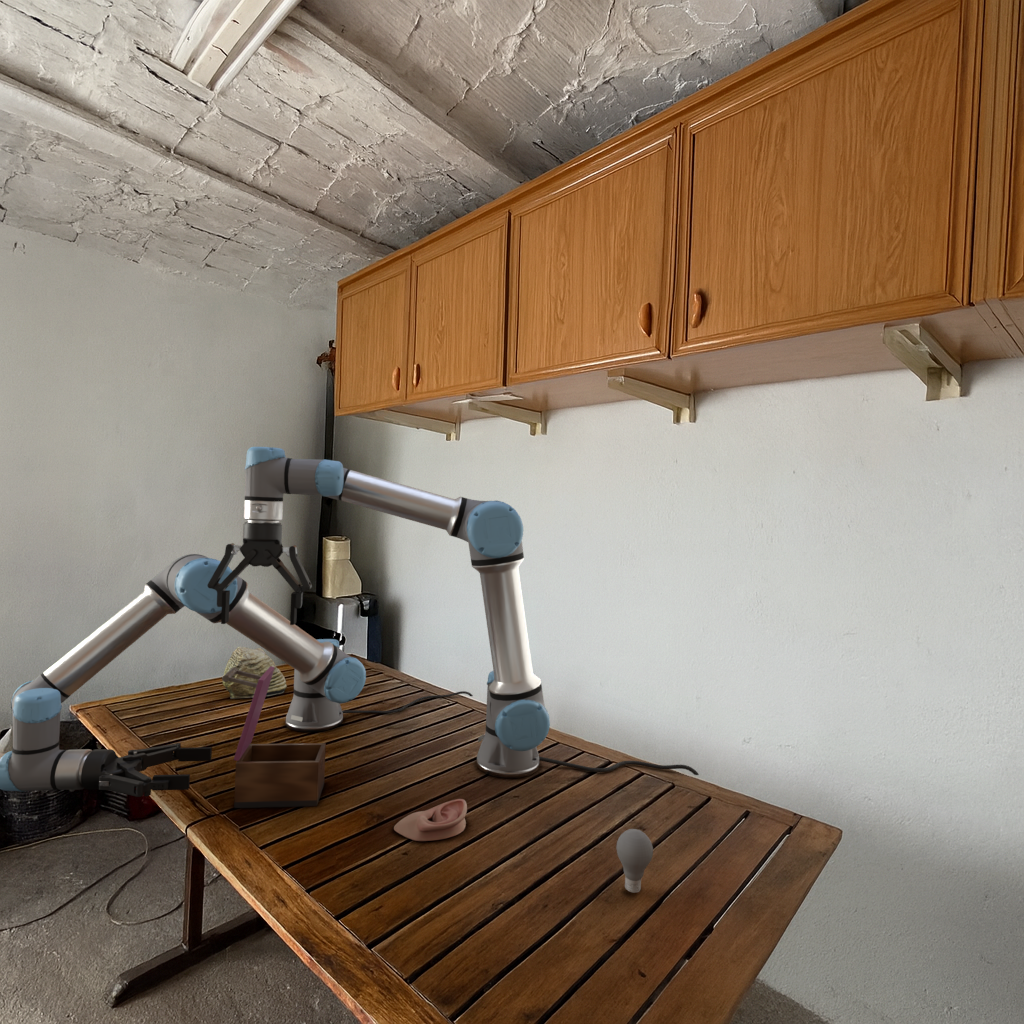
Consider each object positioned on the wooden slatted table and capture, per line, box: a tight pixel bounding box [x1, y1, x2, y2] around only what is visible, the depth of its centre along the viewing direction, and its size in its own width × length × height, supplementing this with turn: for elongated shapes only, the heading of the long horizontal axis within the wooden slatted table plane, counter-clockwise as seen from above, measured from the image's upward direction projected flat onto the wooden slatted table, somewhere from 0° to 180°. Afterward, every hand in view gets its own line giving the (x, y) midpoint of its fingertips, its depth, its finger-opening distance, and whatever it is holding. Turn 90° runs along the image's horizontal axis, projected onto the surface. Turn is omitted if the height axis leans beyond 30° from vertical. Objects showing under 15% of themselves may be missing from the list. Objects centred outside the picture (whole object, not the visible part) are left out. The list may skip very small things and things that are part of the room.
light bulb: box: [615, 828, 654, 894], centre depth 106 cm, size 6×6×10 cm
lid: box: [221, 666, 275, 762], centre depth 132 cm, size 17×10×8 cm
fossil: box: [222, 646, 288, 699], centre depth 198 cm, size 9×18×15 cm, turn 132°
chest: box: [233, 742, 327, 809], centre depth 133 cm, size 16×10×9 cm, turn 98°
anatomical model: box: [393, 798, 468, 842], centre depth 123 cm, size 13×4×12 cm
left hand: (200, 767), depth 131 cm, fingers open, 13 cm apart
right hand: (259, 623), depth 132 cm, fingers open, 13 cm apart
